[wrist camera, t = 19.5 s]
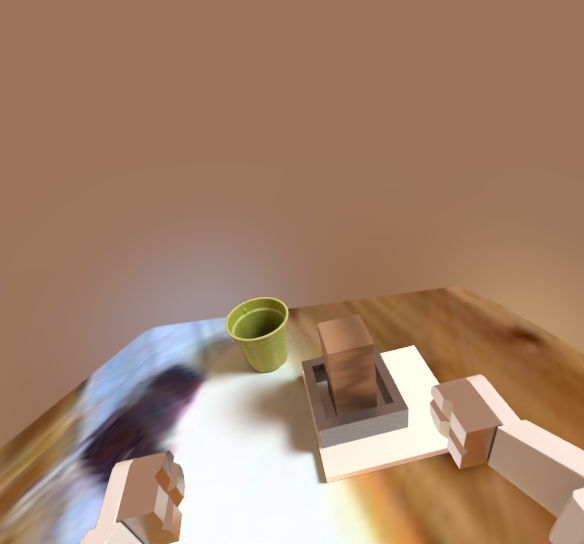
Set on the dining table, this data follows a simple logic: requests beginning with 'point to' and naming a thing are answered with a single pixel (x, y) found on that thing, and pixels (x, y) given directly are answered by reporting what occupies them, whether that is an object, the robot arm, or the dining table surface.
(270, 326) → the plant pot
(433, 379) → the base plate
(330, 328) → the walnut post
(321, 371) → the steel collar
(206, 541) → the dining table surface
